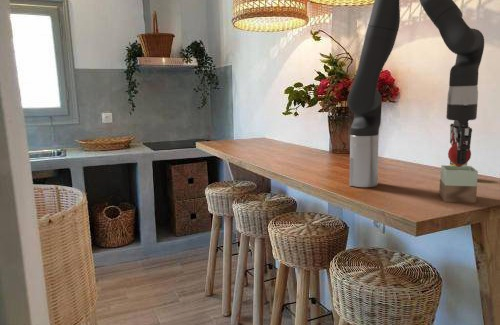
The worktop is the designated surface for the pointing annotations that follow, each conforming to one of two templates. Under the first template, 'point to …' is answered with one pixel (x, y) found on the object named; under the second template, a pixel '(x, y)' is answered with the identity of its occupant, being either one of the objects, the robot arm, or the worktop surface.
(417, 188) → the worktop surface
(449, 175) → the top block
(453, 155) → the onion
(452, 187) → the bottom block
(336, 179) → the worktop surface
